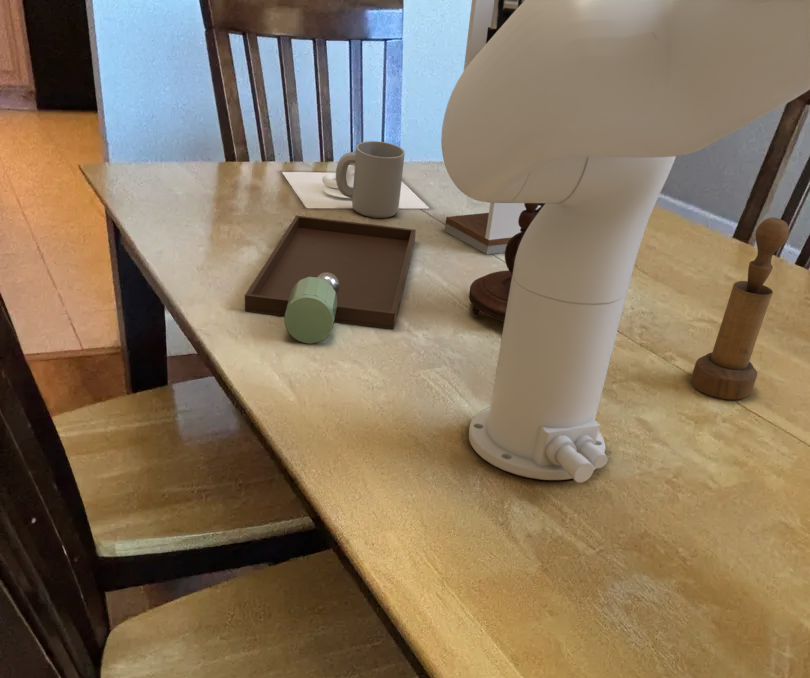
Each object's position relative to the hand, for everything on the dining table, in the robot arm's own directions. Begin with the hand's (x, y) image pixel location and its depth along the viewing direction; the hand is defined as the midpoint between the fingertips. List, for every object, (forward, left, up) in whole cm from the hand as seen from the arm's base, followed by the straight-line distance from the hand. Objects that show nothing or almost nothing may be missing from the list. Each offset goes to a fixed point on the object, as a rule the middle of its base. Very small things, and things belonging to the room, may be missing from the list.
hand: (498, 79), depth 80 cm
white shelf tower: (+35, -23, -27) cm, 50 cm away
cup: (+50, -8, -27) cm, 57 cm away
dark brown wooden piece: (+8, -13, -27) cm, 31 cm away
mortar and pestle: (-14, -25, -27) cm, 40 cm away
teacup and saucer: (+61, -10, -27) cm, 68 cm away
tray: (+25, +5, -27) cm, 37 cm away
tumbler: (+6, +16, -24) cm, 30 cm away
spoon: (+8, +15, -27) cm, 32 cm away
